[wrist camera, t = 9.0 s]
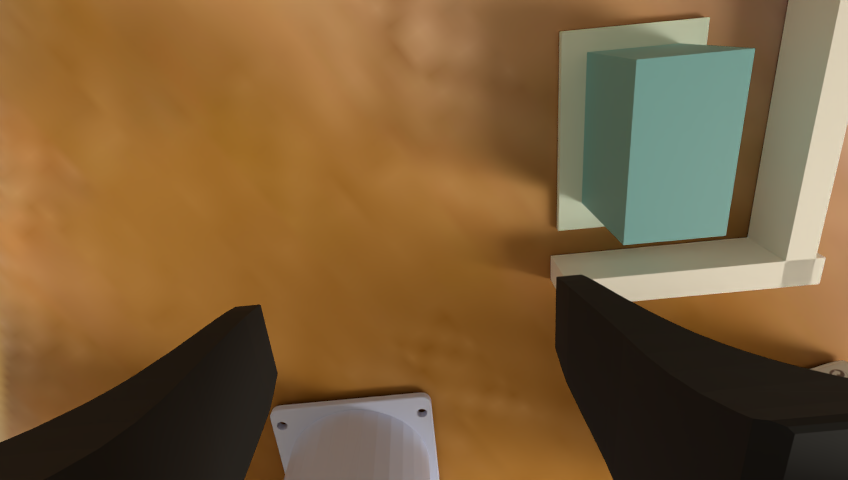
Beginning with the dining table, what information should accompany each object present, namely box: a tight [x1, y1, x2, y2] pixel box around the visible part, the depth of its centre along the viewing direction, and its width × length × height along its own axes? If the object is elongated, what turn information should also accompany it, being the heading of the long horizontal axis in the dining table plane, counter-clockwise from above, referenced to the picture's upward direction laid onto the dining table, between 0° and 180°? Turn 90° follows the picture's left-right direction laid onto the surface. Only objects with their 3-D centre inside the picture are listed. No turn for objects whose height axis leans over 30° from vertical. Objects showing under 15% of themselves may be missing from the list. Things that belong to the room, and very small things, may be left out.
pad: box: [557, 17, 710, 231], centre depth 20 cm, size 8×6×1 cm
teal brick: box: [582, 43, 755, 245], centre depth 18 cm, size 6×4×4 cm, turn 5°
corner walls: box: [551, 0, 848, 301], centre depth 19 cm, size 13×10×2 cm
